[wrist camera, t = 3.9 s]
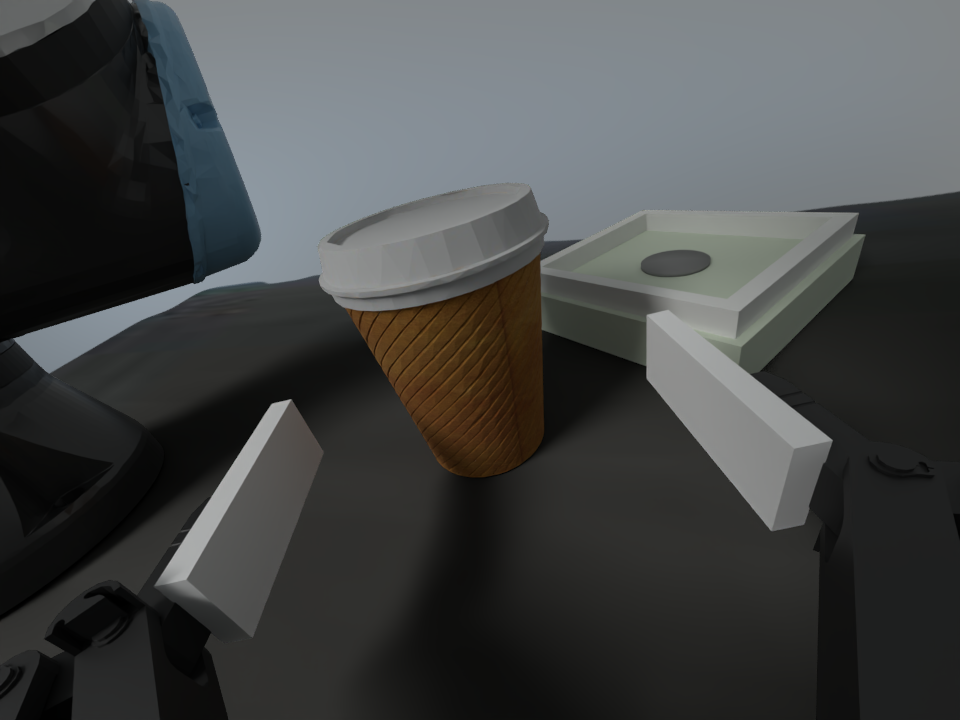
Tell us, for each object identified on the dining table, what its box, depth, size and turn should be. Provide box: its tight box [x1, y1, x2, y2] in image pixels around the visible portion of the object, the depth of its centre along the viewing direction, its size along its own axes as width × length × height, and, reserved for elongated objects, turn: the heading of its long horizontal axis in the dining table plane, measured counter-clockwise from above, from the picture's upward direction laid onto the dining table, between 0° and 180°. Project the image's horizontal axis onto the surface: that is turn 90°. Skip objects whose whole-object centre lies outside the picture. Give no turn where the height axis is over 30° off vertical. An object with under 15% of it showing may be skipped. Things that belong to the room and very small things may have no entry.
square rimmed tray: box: [540, 210, 865, 374], centre depth 28 cm, size 16×16×4 cm
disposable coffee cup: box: [318, 183, 549, 477], centre depth 18 cm, size 10×10×12 cm
